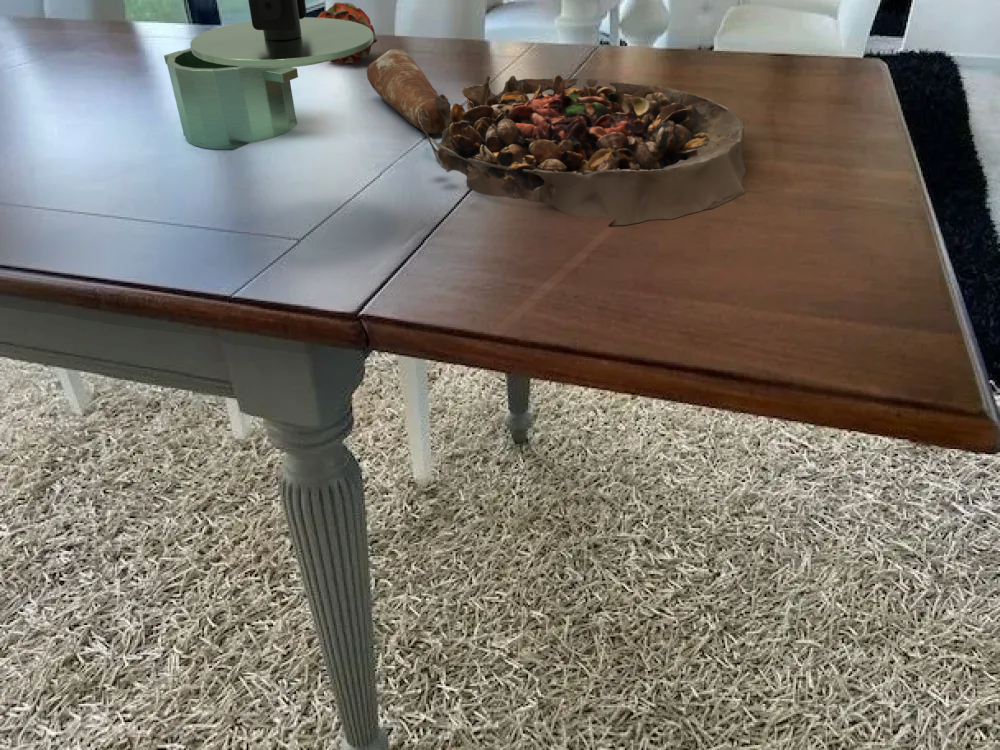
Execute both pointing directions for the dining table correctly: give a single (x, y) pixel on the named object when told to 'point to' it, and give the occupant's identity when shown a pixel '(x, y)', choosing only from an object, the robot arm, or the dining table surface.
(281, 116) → the pot
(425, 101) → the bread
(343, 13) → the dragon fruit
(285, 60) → the lid
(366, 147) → the dining table surface
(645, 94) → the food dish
